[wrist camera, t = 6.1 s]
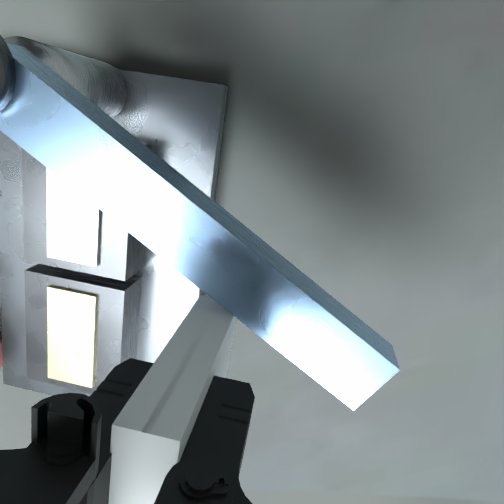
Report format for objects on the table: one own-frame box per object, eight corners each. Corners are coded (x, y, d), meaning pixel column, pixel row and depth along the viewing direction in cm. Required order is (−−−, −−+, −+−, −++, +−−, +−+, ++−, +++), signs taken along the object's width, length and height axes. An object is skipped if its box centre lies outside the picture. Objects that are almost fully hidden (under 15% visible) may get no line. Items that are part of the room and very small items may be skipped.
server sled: (5, 49, 20) (-132, 14, 14) (229, 82, 19) (185, 60, 13) (15, 374, 25) (-79, 449, 19) (188, 415, 24) (145, 509, 18)
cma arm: (-39, 83, 13) (-101, 75, 11) (-6, 10, 13) (-67, -12, 11) (344, 388, 14) (348, 429, 12) (398, 339, 14) (411, 375, 12)
